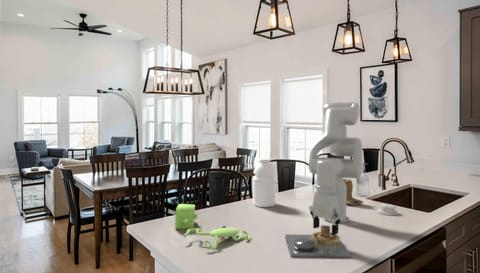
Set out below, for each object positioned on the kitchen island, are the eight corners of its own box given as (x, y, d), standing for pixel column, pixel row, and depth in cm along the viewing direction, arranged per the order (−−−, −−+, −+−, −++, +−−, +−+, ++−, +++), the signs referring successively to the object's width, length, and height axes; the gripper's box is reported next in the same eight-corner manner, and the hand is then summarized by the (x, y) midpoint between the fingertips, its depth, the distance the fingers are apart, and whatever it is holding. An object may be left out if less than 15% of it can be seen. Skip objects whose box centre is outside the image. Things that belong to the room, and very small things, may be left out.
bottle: (263, 200, 210) (263, 157, 209) (280, 204, 200) (280, 158, 199) (248, 204, 201) (247, 158, 200) (264, 208, 191) (264, 160, 189)
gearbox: (195, 233, 152) (196, 213, 151) (173, 232, 151) (174, 212, 150) (198, 220, 169) (198, 202, 169) (178, 220, 169) (179, 201, 168)
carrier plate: (285, 237, 143) (285, 229, 143) (336, 238, 143) (336, 230, 143) (290, 256, 124) (290, 247, 123) (349, 257, 123) (350, 248, 123)
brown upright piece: (331, 201, 208) (331, 178, 207) (346, 199, 212) (346, 176, 211) (347, 207, 194) (347, 182, 193) (363, 205, 198) (363, 180, 197)
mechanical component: (400, 215, 177) (391, 210, 187) (401, 207, 177) (391, 203, 187) (382, 216, 176) (374, 211, 186) (382, 208, 176) (374, 203, 186)
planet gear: (314, 236, 141) (314, 223, 140) (332, 236, 140) (332, 224, 140) (318, 243, 133) (318, 229, 133) (336, 243, 133) (336, 229, 133)
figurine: (179, 242, 140) (179, 229, 139) (229, 229, 156) (229, 217, 156) (202, 256, 125) (202, 242, 125) (255, 240, 142) (255, 227, 142)
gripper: (303, 187, 141) (303, 227, 141) (337, 194, 127) (336, 238, 127) (315, 185, 145) (315, 223, 146) (349, 192, 131) (348, 234, 132)
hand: (325, 230), depth 137 cm, fingers open, 9 cm apart
